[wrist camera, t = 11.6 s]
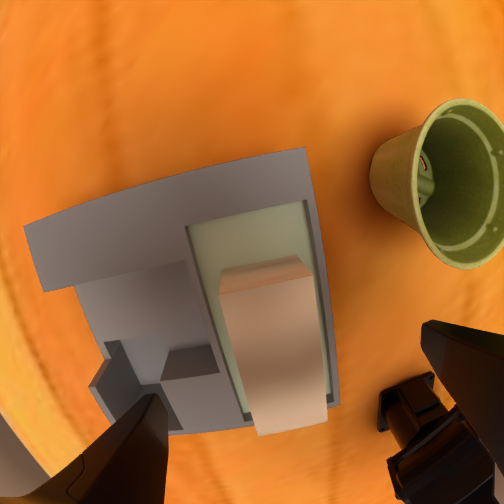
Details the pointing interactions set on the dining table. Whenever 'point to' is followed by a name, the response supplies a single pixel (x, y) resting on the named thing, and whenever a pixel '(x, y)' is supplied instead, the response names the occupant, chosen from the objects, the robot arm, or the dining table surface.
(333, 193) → the dining table surface
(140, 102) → the dining table surface
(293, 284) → the maple block
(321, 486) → the dining table surface
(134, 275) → the jig board
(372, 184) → the plant pot
